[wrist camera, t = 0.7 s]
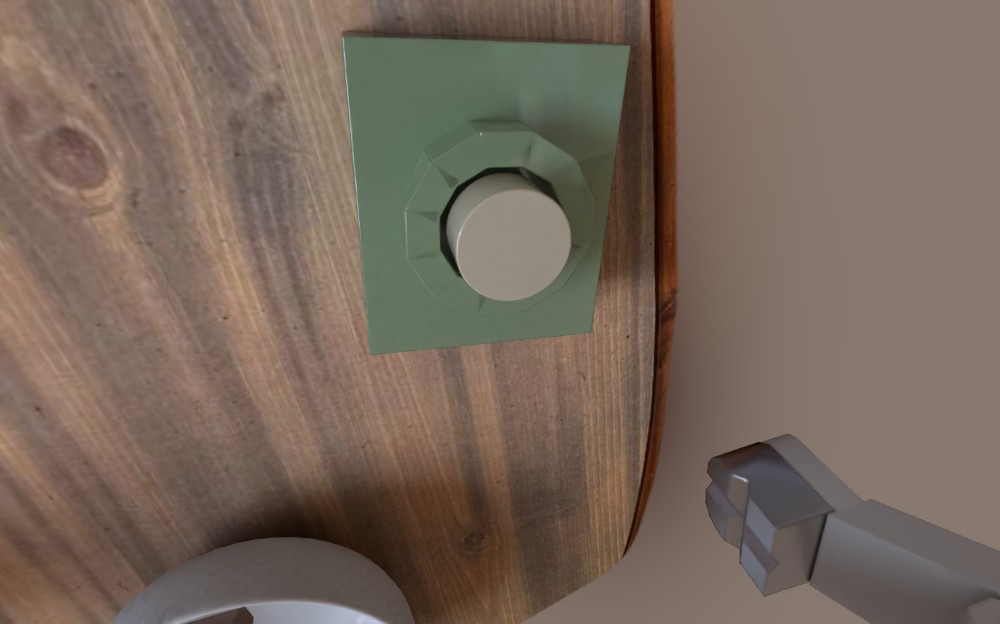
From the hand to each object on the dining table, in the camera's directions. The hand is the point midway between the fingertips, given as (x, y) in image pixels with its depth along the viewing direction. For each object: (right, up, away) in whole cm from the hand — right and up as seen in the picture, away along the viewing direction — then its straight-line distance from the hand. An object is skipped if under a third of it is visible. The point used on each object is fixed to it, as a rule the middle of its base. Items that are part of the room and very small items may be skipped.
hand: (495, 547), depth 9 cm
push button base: (-1, +10, +15) cm, 18 cm away
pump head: (0, +7, +10) cm, 13 cm away
